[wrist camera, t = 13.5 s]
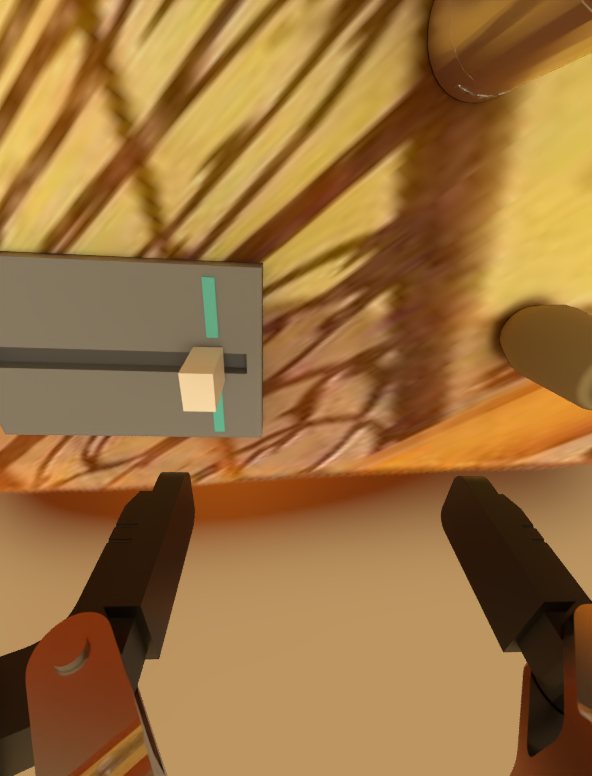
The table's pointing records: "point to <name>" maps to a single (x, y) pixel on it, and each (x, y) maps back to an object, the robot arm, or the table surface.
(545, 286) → the table surface
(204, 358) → the fader tab
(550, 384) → the squeeze bottle
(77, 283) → the panel
